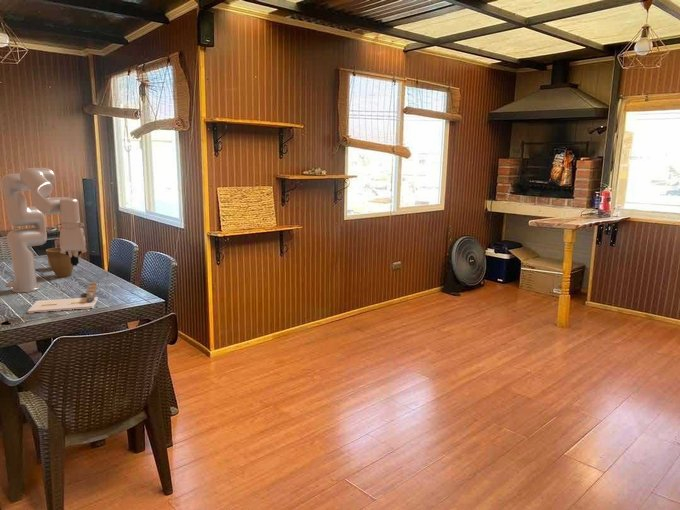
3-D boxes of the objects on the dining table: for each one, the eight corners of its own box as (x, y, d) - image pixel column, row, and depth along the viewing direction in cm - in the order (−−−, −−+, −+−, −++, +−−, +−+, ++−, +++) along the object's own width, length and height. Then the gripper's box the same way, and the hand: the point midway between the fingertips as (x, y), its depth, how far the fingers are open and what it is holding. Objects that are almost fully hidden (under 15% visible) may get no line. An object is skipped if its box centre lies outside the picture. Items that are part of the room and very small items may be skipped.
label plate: (27, 313, 217) (27, 310, 217) (37, 303, 232) (36, 300, 232) (92, 308, 225) (92, 305, 225) (97, 299, 240) (97, 296, 240)
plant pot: (83, 273, 290) (81, 246, 287) (67, 279, 276) (64, 251, 272) (59, 272, 292) (57, 246, 288) (42, 278, 277) (39, 250, 274)
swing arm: (93, 300, 231) (93, 293, 231) (86, 301, 230) (85, 294, 229) (96, 288, 253) (96, 281, 252) (90, 288, 252) (89, 282, 251)
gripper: (90, 224, 229) (94, 262, 233) (54, 225, 224) (58, 264, 228) (88, 226, 222) (91, 266, 226) (50, 227, 217) (54, 268, 221)
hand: (75, 265), depth 227 cm, fingers closed
